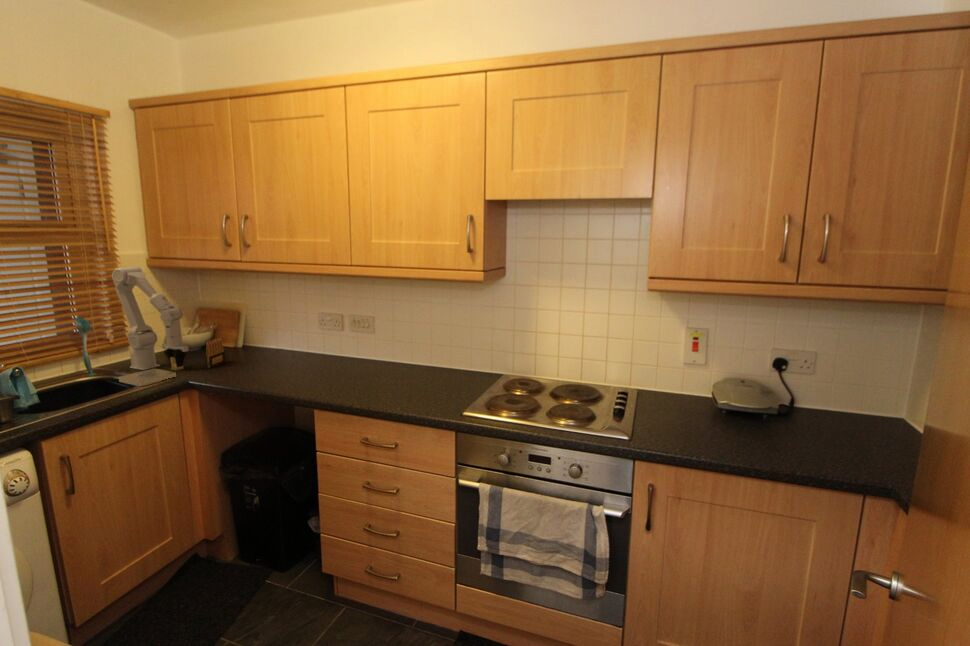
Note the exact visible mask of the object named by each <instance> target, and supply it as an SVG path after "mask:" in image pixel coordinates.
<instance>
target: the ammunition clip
mask: <svg viewBox="0 0 970 646" xmlns="http://www.w3.org/2000/svg"><path fill="white" fill-rule="evenodd" d="M205 348H206V351H205V353H206V356H205V363H206V369H213V368H215V367H217V366H219V365H220V366H221V365H222V364H225V363H226V362H227V360H226V351H225V350H224V344H223V338H222V337H221V336H220V337H217V338H214V339H212V340H209V341H208V340H207V341H206V346H205Z"/></svg>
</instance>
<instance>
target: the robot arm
mask: <svg viewBox="0 0 970 646" xmlns="http://www.w3.org/2000/svg"><path fill="white" fill-rule="evenodd" d="M111 278H112V281H113V284H114V286H115V287H114V288H115V291H116V295H117V296H118V300H119V302H120V304H121V307H122V309H123V312H124V314H125V317H126V320H127V321H128V325H129V326H130V329H129V330H128V331H127V334H126V335H127V337H128V340H127V342H128V344H129V347H131V348H132V349H131V350H130V353H129V355H130V363H131V365H130V366H129V368H130V369H133V370H134V369H135V370H141V371H146V370H150V369H154V368H158V367H161V366H162V365H161V364H157V362H156V360H157V359H156V353H155V346H156V343H158V335H157V333H156V332H154V329H153V328H152V326H150V325H148V324H146V322H145V320H144V317H143V314H142V312H141V309H140V306H139V305H138V302H137V300H136V297H135V295H134V294H135V293H134V292H133V289H134V287H135V286H136V287H138V288H139V290H141V291H142V292H143V294H145V295H146V296H147V297H148V298H149V303H150V304H151V305H152V307H153V308H154V309H156V310H157V312H159V314H160V315H159V318H160V321H162V322H163V326H164V330H165V341H166V343H162V345H161V347H162V349H165V350H163V353H164V354H165V355H166V357H167V359H168V360H169V363H170V364H171V360H170V357H175V360H176V365H177V367H181V366H183V367H184V360H185V357H186V355H187V353H188V352H189V346H187V345H184V344H183V337H182V328H181V327H182V326H181V319H182V318H183V315H184V314H183V311H182V309H181V307H179V306H175V305H173V304H172V303H171V302H170V300H168V298H167V296H166V295H165V294H163V293H158V291H156V290H155V288H154V287H153V285H152V284H151V283H150V281H148V279H147V278H146V273H145V272H144V271H143V270H142V268H140V267H139V266H130V267H116V268H115V269H114V270H113V271H112V273H111Z"/></svg>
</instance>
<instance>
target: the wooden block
mask: <svg viewBox="0 0 970 646" xmlns="http://www.w3.org/2000/svg"><path fill="white" fill-rule="evenodd" d="M170 360H171V363H170V366H171V370H172V371H180V370H184V365H183V366H181V367H177V365H176V360H175V357H170Z"/></svg>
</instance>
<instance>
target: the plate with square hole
mask: <svg viewBox="0 0 970 646" xmlns="http://www.w3.org/2000/svg"><path fill="white" fill-rule="evenodd" d="M172 377H175V378H177V372H175V371H170V370H165V369H160V368H156V367H154V368H150V369H146V370H141V371H138V372H134V373H129V374H125V375H122V376H121V375H120V376H118V380H119V381H118V382H119V383H123V384H128V385H132V386H136V387H141V386H142V387H145V386H148V385H152V384H156V383H159V382H163V381H162V380H164V381H166V380H165V379H167V380H169V379H168V378H171V379H173V378H172Z"/></svg>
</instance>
